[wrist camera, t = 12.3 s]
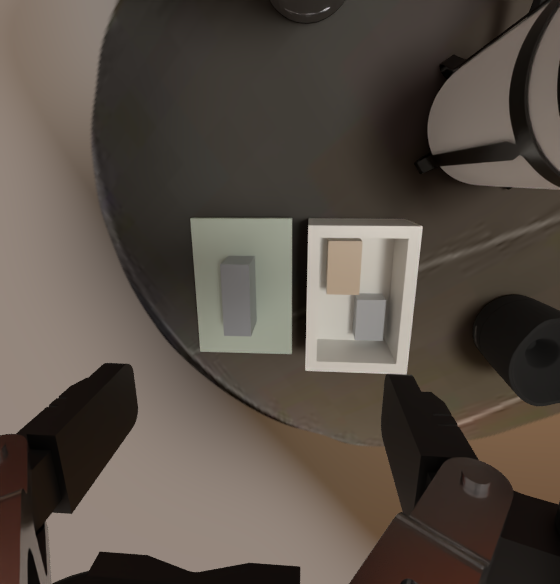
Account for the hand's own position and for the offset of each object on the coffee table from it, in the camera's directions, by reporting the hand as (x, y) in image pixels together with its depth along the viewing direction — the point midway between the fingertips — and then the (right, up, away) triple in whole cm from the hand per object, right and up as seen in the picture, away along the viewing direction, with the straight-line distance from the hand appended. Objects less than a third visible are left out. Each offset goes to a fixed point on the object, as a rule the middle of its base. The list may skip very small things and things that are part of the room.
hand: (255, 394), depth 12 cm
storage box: (+10, +4, +34) cm, 35 cm away
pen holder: (+29, -1, +34) cm, 44 cm away
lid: (-3, +4, +34) cm, 35 cm away
